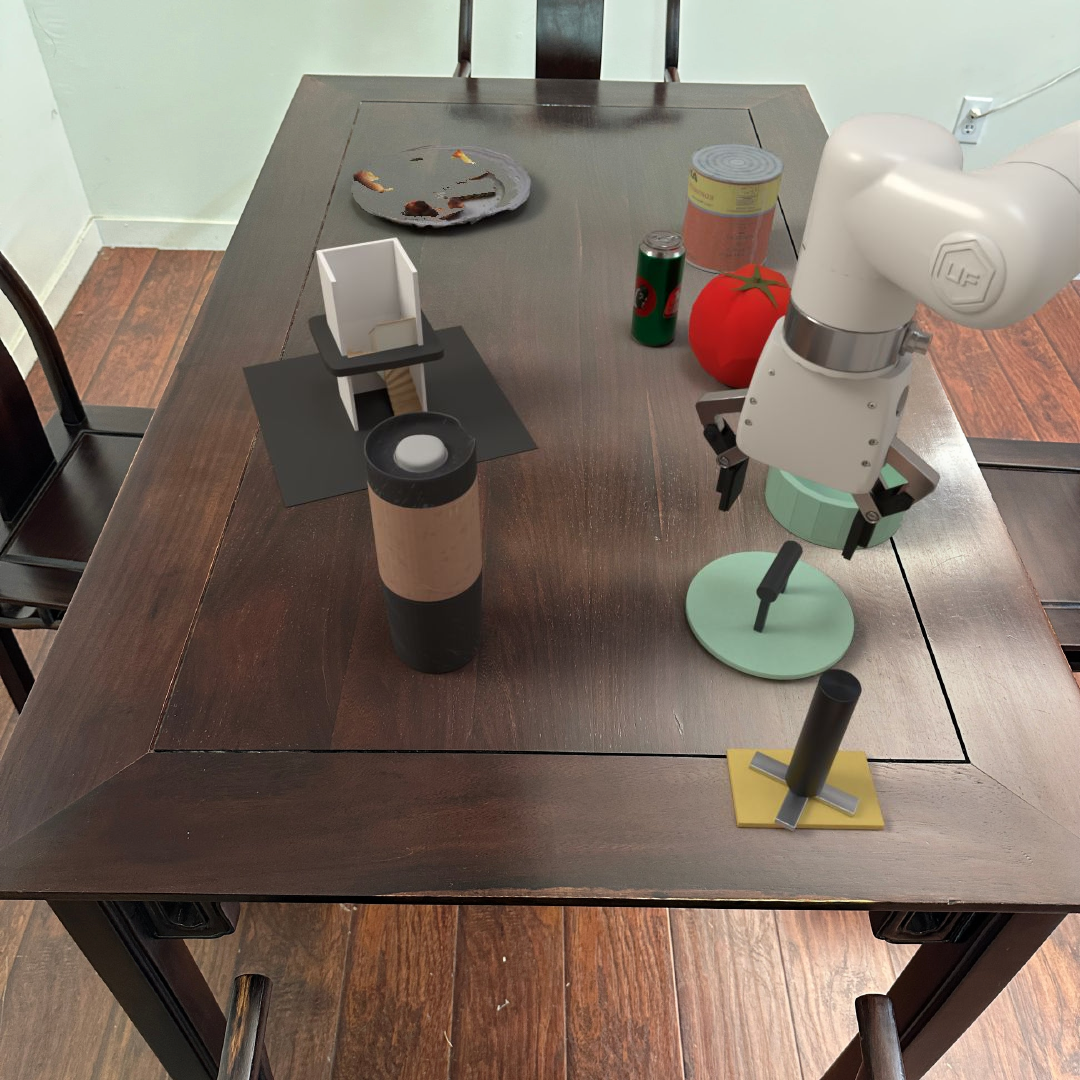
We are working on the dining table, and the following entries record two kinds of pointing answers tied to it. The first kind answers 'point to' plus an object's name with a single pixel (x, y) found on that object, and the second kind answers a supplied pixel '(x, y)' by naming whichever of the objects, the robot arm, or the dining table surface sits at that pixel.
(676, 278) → the soda can
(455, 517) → the travel mug
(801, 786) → the black and grey rod
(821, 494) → the bowl
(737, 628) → the lid
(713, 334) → the tomato
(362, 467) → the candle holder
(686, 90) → the dining table surface
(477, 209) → the food plate
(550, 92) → the dining table surface
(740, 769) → the mat
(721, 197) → the canned food
